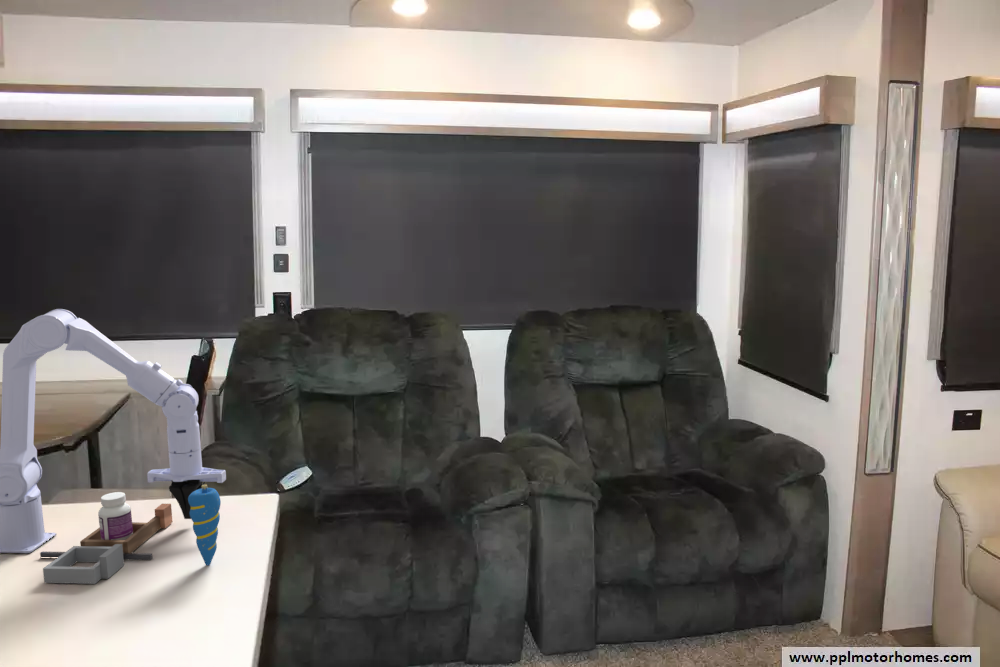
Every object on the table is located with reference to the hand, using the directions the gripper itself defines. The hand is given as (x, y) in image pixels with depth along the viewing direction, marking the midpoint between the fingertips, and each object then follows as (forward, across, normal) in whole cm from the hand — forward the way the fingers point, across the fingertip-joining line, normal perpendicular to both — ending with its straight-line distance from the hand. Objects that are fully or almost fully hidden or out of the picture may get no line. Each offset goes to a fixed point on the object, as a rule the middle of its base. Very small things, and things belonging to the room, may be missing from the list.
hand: (190, 517), depth 151 cm
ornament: (+2, +10, -16) cm, 19 cm away
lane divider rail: (+2, -10, -14) cm, 18 cm away
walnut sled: (+2, -9, -6) cm, 11 cm away
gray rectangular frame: (+2, -10, -20) cm, 22 cm away
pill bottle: (+2, -10, -9) cm, 13 cm away
